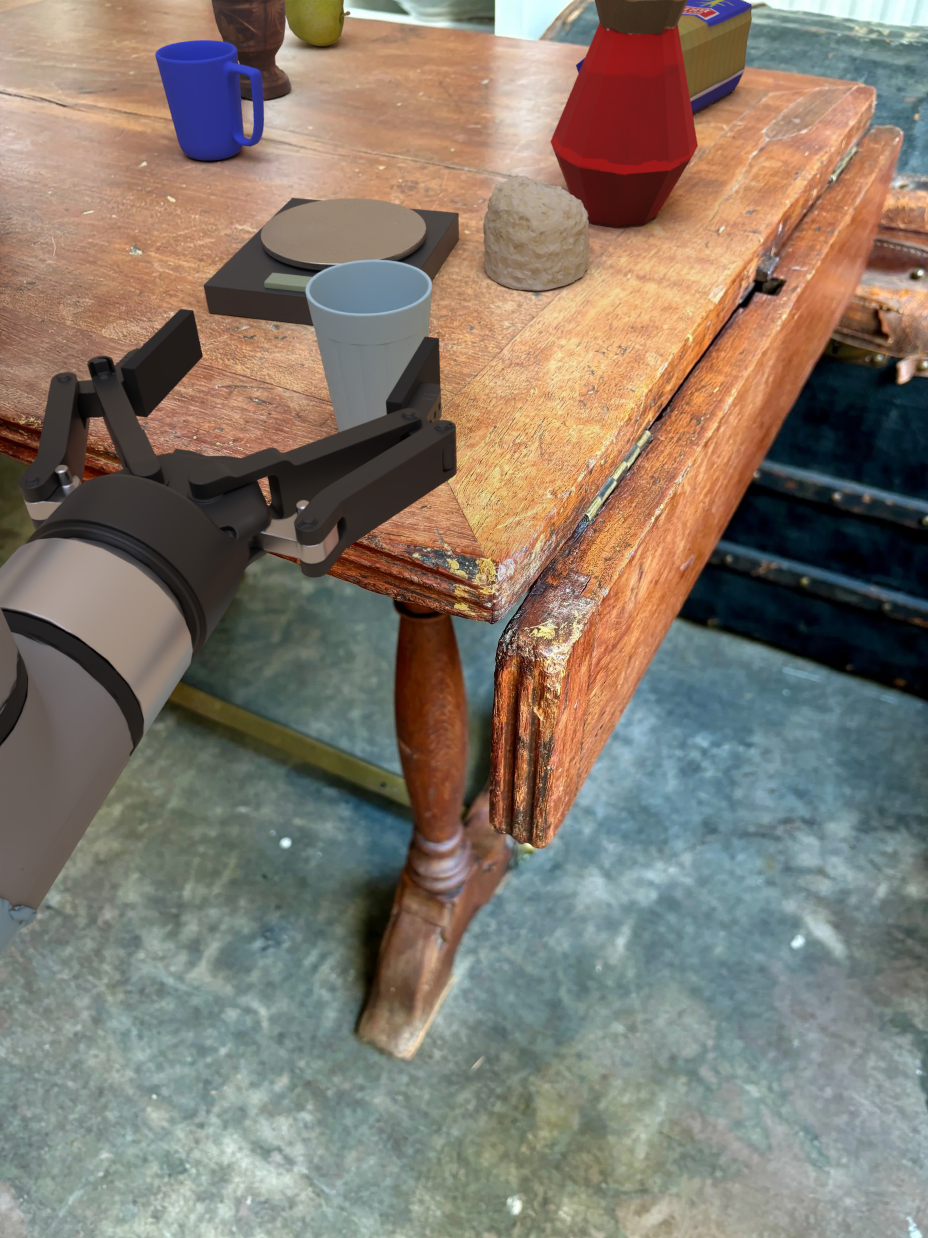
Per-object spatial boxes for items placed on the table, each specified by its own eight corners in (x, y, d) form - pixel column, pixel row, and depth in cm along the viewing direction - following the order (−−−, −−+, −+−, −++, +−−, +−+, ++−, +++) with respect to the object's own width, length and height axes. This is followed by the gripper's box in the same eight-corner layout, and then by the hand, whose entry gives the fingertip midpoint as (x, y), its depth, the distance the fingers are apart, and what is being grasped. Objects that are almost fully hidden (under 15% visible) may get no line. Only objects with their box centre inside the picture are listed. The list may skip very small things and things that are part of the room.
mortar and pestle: (297, 108, 119) (274, -95, 106) (224, 112, 118) (191, -92, 105) (294, 80, 128) (272, -112, 114) (226, 84, 127) (195, -109, 113)
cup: (298, 437, 67) (278, 289, 60) (376, 391, 71) (366, 248, 64) (381, 478, 63) (371, 326, 56) (458, 427, 68) (457, 280, 61)
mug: (244, 178, 103) (228, 70, 96) (159, 157, 107) (137, 53, 100) (294, 154, 108) (282, 50, 101) (210, 135, 112) (193, 35, 105)
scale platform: (234, 261, 81) (233, 254, 81) (297, 198, 91) (297, 191, 91) (398, 278, 79) (398, 271, 78) (445, 212, 88) (445, 205, 88)
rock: (534, 287, 92) (477, 188, 88) (623, 241, 87) (566, 133, 83) (500, 331, 86) (436, 226, 82) (593, 284, 80) (529, 169, 76)
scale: (208, 313, 80) (201, 278, 78) (295, 222, 94) (291, 191, 92) (397, 335, 77) (395, 299, 75) (459, 238, 91) (458, 206, 89)
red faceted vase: (551, 176, 102) (562, -57, 88) (684, 181, 101) (717, -55, 87) (542, 238, 91) (555, -18, 77) (692, 244, 90) (732, -15, 76)
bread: (749, 91, 123) (766, -6, 116) (649, 146, 109) (661, 39, 101) (676, 77, 127) (687, -17, 120) (571, 128, 113) (577, 25, 106)
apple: (350, 52, 137) (345, -15, 132) (284, 52, 137) (277, -15, 132) (356, 38, 143) (351, -28, 137) (293, 38, 143) (286, -28, 138)
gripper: (-132, 626, 43) (115, 382, 58) (427, 734, 38) (537, 437, 53) (-216, 481, 38) (79, 255, 53) (418, 584, 33) (543, 303, 48)
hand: (309, 346), depth 53 cm, fingers open, 13 cm apart
